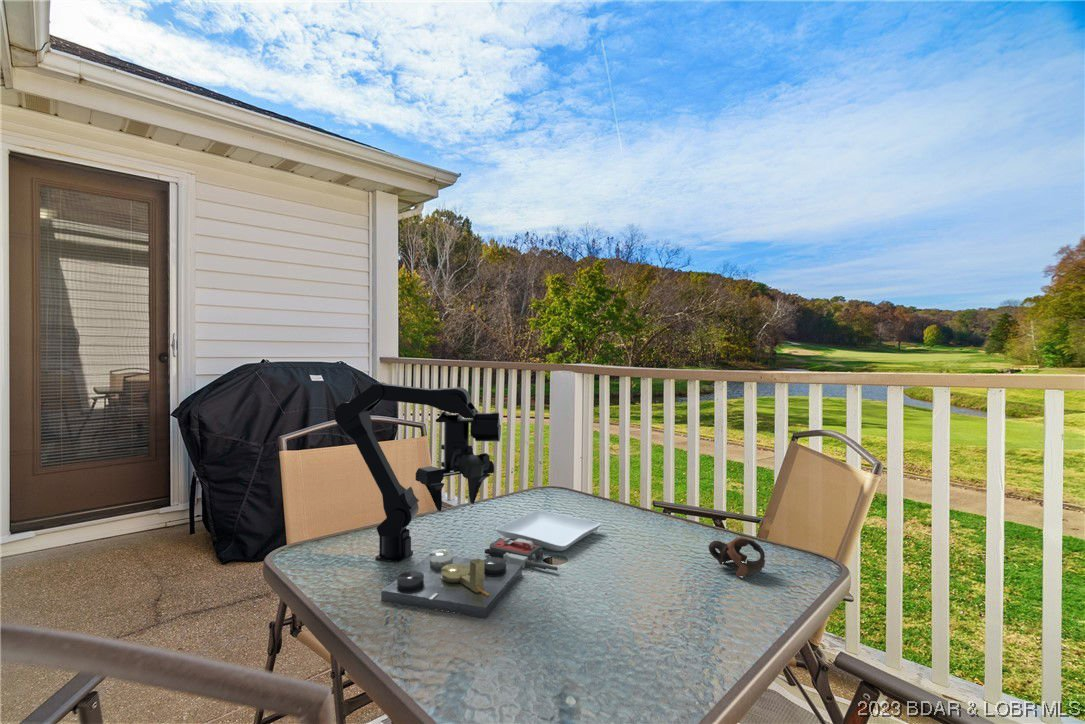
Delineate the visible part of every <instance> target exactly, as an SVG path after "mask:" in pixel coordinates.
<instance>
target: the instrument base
mask: <svg viewBox="0 0 1085 724" xmlns="http://www.w3.org/2000/svg"><path fill="white" fill-rule="evenodd" d="M475 559H476V558H470V557H464V556H463V557H462V556H455V555H454V552H453V550H452V549H447V548H441V549H439V548H438V549H434V550H432V551H430V553H429V554H428V556H426V557H425V558H423V559H422V560H421V561H420V562H418V563H416V565H414V566H412V567H411V568H410V569H409V570H407V571H406V572H405V571H404V572H402V573H400V574H398V575H397V576H396V579H395V580H393V581H392V582H391V583H390V584H388V585H387V586H385V587H384V588H382V589H381V591H380V592H381V593H380V600H381V602H387V603H394V604H400V605H405V606H411V607H415V606H417V607H416V608H421V607H423V609H427V608H428V610H433V609H437V610H436V611H439V610H443V611H442V612H445V611H449V612H448V613H451V612H455V613H454V614H456V613H460V614H459V615H462V614H464V615H463V616H468V615H469V616H470V617H474V618H480V619H487V618H488V617H489V615H490V614H491V613H492V611H494V609H495V608H496V607H497V606H498V604H499V603H500V600H501V601H502V600H503V598H504V597H505V596H506V595H505V594H508V592H509V591H510V589H511V588H512V587H513V586H514V585H515V584H516V583H517V581H518V580H519V579H520V577H521V576H522V575H523V568H522V565H516V564H508V563H507V562H506V560H504V559H502V558H497V557H487V558H485V559H482V560H483V561H484V584H483V591H480V592H477V593H476V592H474V591H473V590H471V589H470V588H468V587H467V586H465V585H464V584H462V583H461V582H456V583H452V582H446V581H444V580H442V579H441V569H442V567H444V566H446V565H448V564H453V563H463V564H467V565H469V566H470V561H472V560H475ZM504 595H505V596H504ZM469 616H468V617H469Z"/></svg>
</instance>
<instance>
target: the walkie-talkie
mask: <svg viewBox="0 0 1085 724" xmlns="http://www.w3.org/2000/svg"><path fill="white" fill-rule="evenodd" d="M484 554H486V555H489V558H492V557H497V558H502V559H504V560H506V563H508V564H516V565H522V569H525V568H526V567H533V568H537V569H542V570H547V569H548V570H551V571H556V572H557V571H558V567H557V566H554V565H549V564H545V563H542V562H541V563H540V562H536V561H538V560H541V559H542V558H543V557H544V550H543V548H542V547H541V546H537V545H535V544H534V542H533V541H530V540H525V539H520V538H518V539H517V540H513V539H510V538H507V537H506V538H501V537H499V538H498V539H496V540H495V541H492V542H491V543H490V544H489V548H485V549H484Z"/></svg>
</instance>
